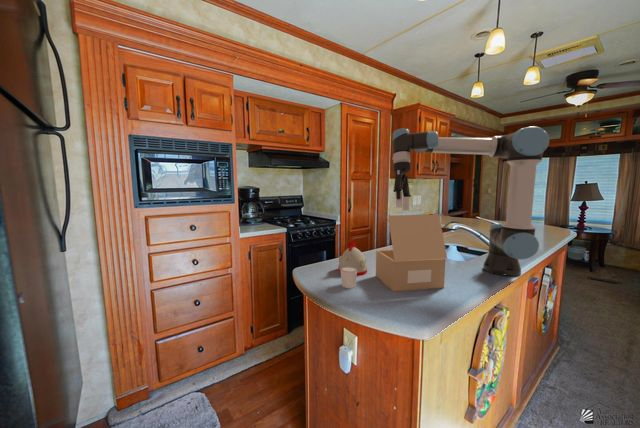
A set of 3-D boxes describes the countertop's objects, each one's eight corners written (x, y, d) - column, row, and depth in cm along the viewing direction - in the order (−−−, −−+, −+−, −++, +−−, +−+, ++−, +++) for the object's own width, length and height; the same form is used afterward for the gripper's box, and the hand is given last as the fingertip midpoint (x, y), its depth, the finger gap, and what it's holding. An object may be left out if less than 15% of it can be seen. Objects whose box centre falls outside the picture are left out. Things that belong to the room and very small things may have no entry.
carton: (375, 276, 121) (376, 250, 120) (420, 273, 125) (421, 248, 123) (393, 291, 103) (394, 261, 102) (444, 288, 107) (445, 259, 106)
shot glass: (355, 289, 105) (355, 272, 104) (338, 287, 107) (338, 270, 107) (358, 283, 111) (358, 267, 111) (342, 281, 114) (343, 266, 113)
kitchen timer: (332, 272, 126) (333, 241, 125) (346, 265, 138) (346, 236, 136) (359, 278, 119) (360, 245, 117) (371, 270, 130) (372, 240, 128)
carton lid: (388, 216, 107) (389, 215, 106) (437, 215, 110) (439, 214, 109) (394, 261, 102) (395, 260, 101) (446, 258, 105) (447, 258, 105)
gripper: (400, 170, 134) (401, 212, 132) (385, 156, 113) (386, 206, 111) (415, 168, 131) (416, 211, 128) (403, 153, 109) (405, 204, 107)
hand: (403, 208), depth 119 cm, fingers open, 13 cm apart
